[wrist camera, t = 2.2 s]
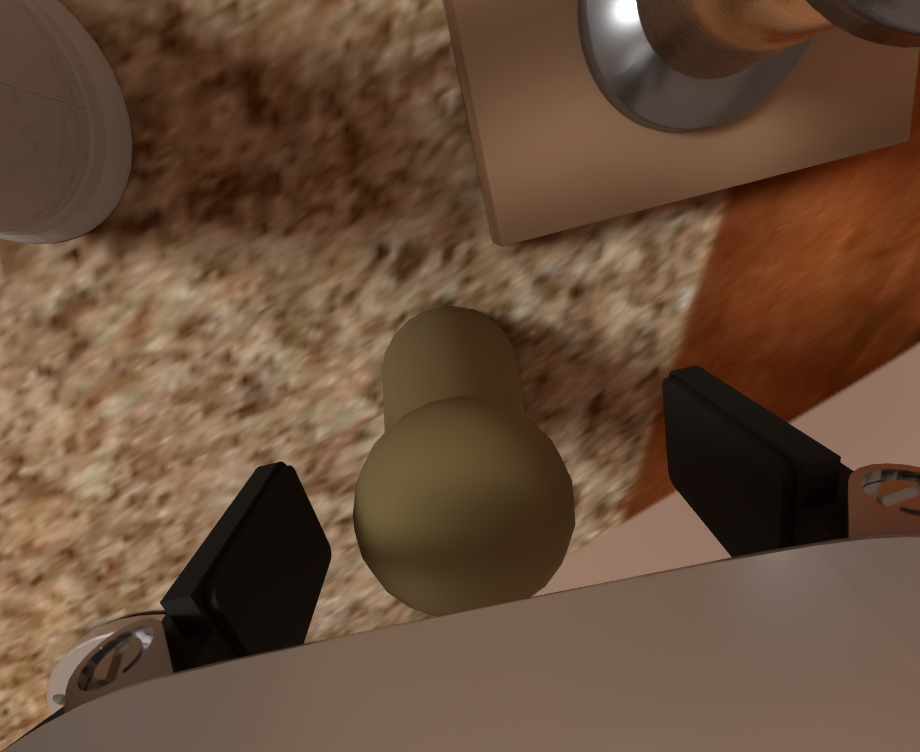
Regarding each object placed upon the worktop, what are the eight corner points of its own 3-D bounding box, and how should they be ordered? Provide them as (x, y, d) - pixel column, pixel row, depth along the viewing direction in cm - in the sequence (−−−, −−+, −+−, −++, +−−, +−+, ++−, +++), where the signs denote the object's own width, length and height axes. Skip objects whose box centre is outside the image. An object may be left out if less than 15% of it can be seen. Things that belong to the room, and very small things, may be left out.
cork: (539, 331, 18) (669, 472, 8) (491, 448, 20) (548, 684, 10) (404, 287, 18) (359, 385, 7) (367, 414, 19) (290, 636, 9)
